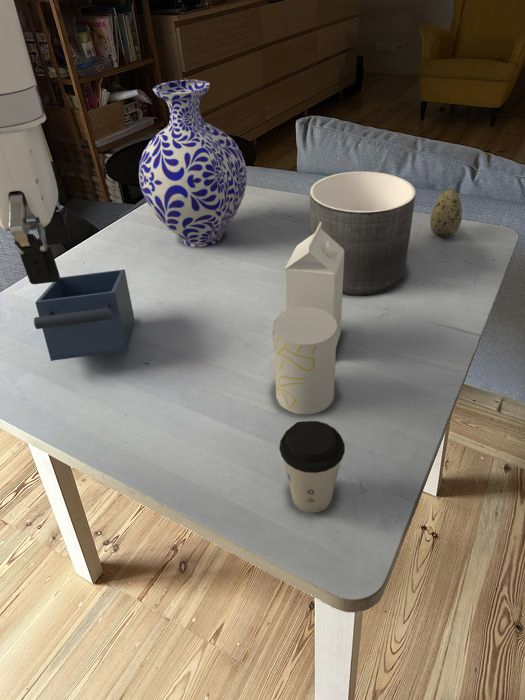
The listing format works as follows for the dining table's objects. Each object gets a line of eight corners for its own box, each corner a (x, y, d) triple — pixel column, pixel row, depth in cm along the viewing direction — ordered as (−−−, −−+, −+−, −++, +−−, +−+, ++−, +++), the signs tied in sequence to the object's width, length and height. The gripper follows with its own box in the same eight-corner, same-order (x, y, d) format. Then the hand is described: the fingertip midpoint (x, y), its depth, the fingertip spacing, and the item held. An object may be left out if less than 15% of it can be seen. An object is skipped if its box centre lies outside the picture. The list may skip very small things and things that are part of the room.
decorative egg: (431, 228, 113) (438, 182, 107) (460, 232, 111) (469, 185, 105) (424, 240, 109) (431, 193, 103) (455, 245, 107) (464, 197, 101)
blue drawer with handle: (124, 361, 75) (111, 300, 72) (43, 373, 74) (26, 311, 71) (134, 320, 92) (124, 269, 88) (69, 329, 91) (56, 277, 87)
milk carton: (286, 354, 83) (283, 242, 71) (298, 327, 88) (296, 219, 76) (332, 360, 81) (336, 247, 69) (340, 333, 86) (346, 223, 74)
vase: (132, 238, 117) (99, 90, 98) (210, 207, 128) (193, 68, 109) (190, 272, 104) (165, 109, 85) (271, 235, 115) (264, 82, 96)
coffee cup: (352, 487, 63) (357, 428, 57) (324, 532, 58) (325, 473, 52) (301, 463, 66) (300, 405, 60) (270, 504, 62) (265, 445, 55)
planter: (315, 299, 94) (316, 215, 85) (305, 251, 108) (305, 174, 99) (415, 292, 94) (428, 208, 85) (393, 245, 108) (401, 168, 98)
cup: (264, 392, 76) (259, 324, 69) (305, 367, 80) (305, 300, 73) (303, 423, 71) (303, 353, 64) (346, 394, 75) (350, 325, 68)
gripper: (-16, 92, 60) (31, 233, 70) (-64, 137, 46) (4, 304, 57) (53, 86, 60) (89, 227, 71) (26, 128, 47) (76, 295, 57)
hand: (51, 261), depth 64 cm, fingers open, 9 cm apart
